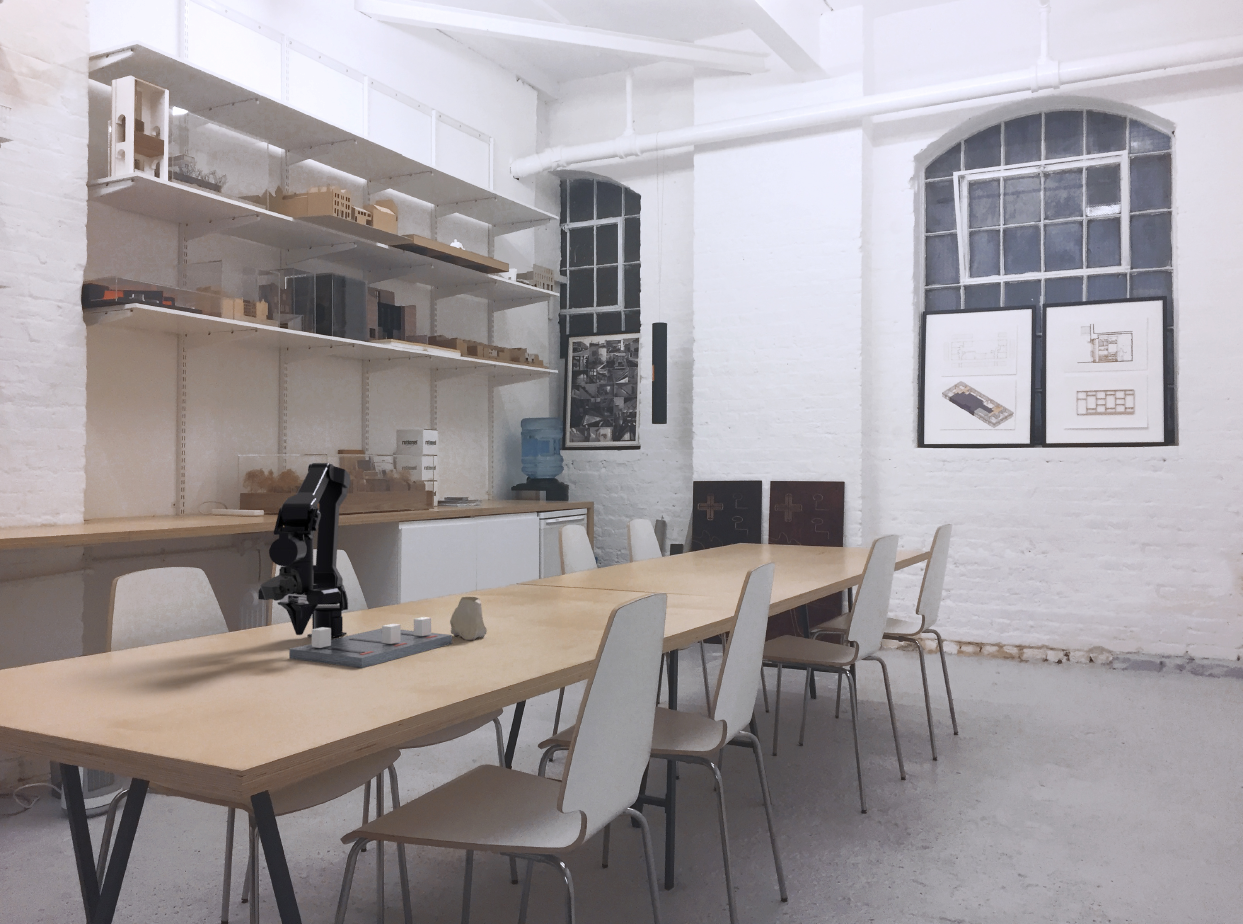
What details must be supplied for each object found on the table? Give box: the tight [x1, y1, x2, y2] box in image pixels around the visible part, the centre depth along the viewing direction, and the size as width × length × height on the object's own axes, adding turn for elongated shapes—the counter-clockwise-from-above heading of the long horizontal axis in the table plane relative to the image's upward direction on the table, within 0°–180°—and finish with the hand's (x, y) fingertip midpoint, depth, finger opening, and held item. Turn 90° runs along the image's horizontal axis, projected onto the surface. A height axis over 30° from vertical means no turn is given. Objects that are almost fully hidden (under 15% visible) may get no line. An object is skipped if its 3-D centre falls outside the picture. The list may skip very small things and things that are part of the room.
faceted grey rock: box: [449, 596, 488, 641], centre depth 215 cm, size 9×8×10 cm
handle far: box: [413, 616, 432, 636], centre depth 206 cm, size 2×3×4 cm
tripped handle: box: [311, 627, 332, 648], centre depth 193 cm, size 2×3×4 cm
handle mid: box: [381, 623, 402, 644], centre depth 197 cm, size 2×3×4 cm
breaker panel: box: [288, 627, 453, 669], centre depth 199 cm, size 20×28×2 cm
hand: (299, 634), depth 196 cm, fingers closed
